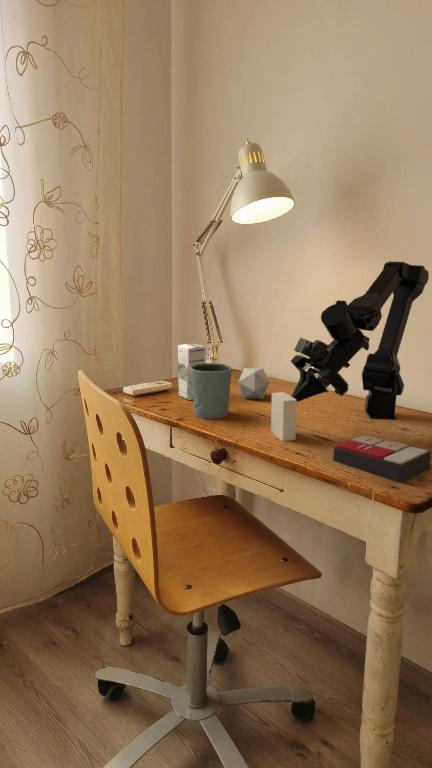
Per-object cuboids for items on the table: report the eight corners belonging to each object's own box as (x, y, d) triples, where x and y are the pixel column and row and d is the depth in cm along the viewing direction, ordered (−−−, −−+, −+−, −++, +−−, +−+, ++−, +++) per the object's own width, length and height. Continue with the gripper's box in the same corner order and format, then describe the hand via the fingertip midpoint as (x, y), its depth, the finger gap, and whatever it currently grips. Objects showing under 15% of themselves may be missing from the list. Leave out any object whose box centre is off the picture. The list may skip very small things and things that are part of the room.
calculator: (363, 432, 121) (432, 448, 110) (363, 452, 122) (430, 469, 111) (332, 444, 114) (402, 461, 103) (332, 464, 115) (401, 484, 104)
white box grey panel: (284, 430, 133) (285, 392, 130) (296, 439, 126) (297, 399, 124) (271, 431, 132) (271, 393, 130) (282, 441, 125) (283, 401, 123)
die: (258, 405, 155) (278, 374, 156) (230, 387, 156) (250, 357, 157) (256, 408, 164) (274, 379, 165) (229, 391, 164) (248, 362, 165)
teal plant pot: (238, 414, 144) (240, 367, 142) (211, 422, 137) (212, 373, 134) (209, 406, 151) (209, 361, 148) (181, 413, 144) (181, 366, 141)
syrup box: (205, 398, 159) (206, 346, 156) (187, 400, 156) (188, 347, 153) (194, 393, 164) (195, 342, 160) (176, 396, 160) (177, 344, 157)
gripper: (301, 320, 134) (254, 368, 133) (339, 331, 116) (285, 387, 116) (329, 353, 138) (283, 400, 137) (370, 368, 120) (318, 422, 120)
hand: (291, 401), depth 127 cm, fingers closed, pressing on white box grey panel
